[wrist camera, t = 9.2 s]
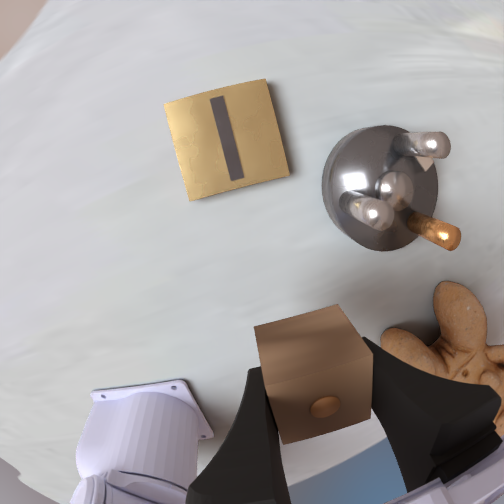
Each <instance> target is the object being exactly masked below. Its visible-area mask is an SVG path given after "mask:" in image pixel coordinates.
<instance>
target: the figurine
mask: <svg viewBox="0 0 504 504" xmlns="http://www.w3.org/2000/svg"><path fill="white" fill-rule="evenodd" d="M433 306H434V312H435V315H436V318H437V321H438V323H439V325H440V329H441V335H440V337H439V338H438V340H437V341H435V342H434V343H433V344H432V345H430V346H429V347H427V346H426V345H425V344H424V343H423V342H422V341H421V340H420V339H419V338H417V337H416V336H415V335H413V334H412V333H410V332H408V331H405V330H401V329H398V328H390V329H387V330H385V331H384V333H383V334H382V335H381V339H380V340H381V348H382V349H384V350H385V351H387V352H388V353H390V354H392V355H393V356H395V357H397V358H398V359H400V360H402V361H404V362H405V363H407V364H409V365H411V366H413V367H415V368H418V369H420V370H422V371H425V372H427V373H430V374H433V375H436V376H439V377H442V378H446V379H449V380H454V381H458V382H464V383H470V384H481V385H490V386H491V387H492V388H493V389H494V390H495V391H496V392H497V394H498V395H499V396H500V397H501V398H502V403H501V406H500V409H499V411H498V413H497V415H496V417H495V419H494V421H493V422H494V424H495V425H496V427H497V428H496V430H495V431H496V432H497V434H498V435H499V436H500V437H501V436H502V435H504V345H494V346H488V345H487V344H486V336H487V318H486V315H485V312H484V309H483V307H482V305H481V304H480V302H479V301H478V299H477V298H476V296H475V295H474V294H473V293H472V292H471V291H470V290H469V289H467V288H466V287H464V286H462V285H461V284H458V283H453V282H449V281H442V282H441V283H439V285H438V286H437V287H436V288H435V292H434V297H433Z"/></svg>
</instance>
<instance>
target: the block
mask: <svg viewBox="0 0 504 504" xmlns="http://www.w3.org/2000/svg"><path fill="white" fill-rule="evenodd" d="M254 330H255V336H256V341H257V347H258V352H259V358H260V363H261V369H262V374H263V379H264V385H265V389H266V392H267V395H268V398H269V402H270V405H271V408H272V411H273V415H274V418H275V421H276V424H277V427H278V431H279V434H280V437H281V440H282V443H283V445H285V444H289V443H293V442H297V441H301V440H305V439H309V438H312V437H316V436H319V435H323V434H326V433H330V432H333V431H336V430H339V429H342V428H345V427H348V426H351V425H354V424H357V423H360V422H362V421H365V420H368V419H371V403H372V381H373V354H372V352H371V351H370V349H369V348H368V346H367V345H366V343H365V342H364V341H363V339H362V338H361V336H360V335H359V333H358V332H357V331H356V329H355V328H354V326H353V325H352V324H351V322H350V321H349V319H348V318H347V316H346V315H345V314H344V312H343V311H342V310H341V308H340V307H339V305H338V304H336V305H333V306H329V307H326V308H322V309H319V310H315V311H312V312H308V313H305V314H301V315H297V316H293V317H290V318H286V319H282V320H278V321H274V322H270V323H266V324H262V325H258V326H254Z"/></svg>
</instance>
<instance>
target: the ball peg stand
mask: <svg viewBox="0 0 504 504" xmlns="http://www.w3.org/2000/svg"><path fill="white" fill-rule="evenodd" d="M450 149H451V144H450V140H449V138H448V136H447V135H446V134H445V133H443V132H416V133H410V132H408V131H406V130H404V129H402V128H399V127H395V126H386V125H383V126H375V127H368V128H362V129H358V130H355V131H353V132H351V133H349V134H348V135H346V136H345V137H343V138H342V139H341V140H340V141H339V142H338V143H337V144H336V145H335V147H334V148H333V149H332V151H331V153H330V154H329V156H328V159H327V161H326V163H325V167H324V170H323V176H322V195H323V200H324V204H325V207H326V210H327V212H328V214H329V216H330V218H331V220H332V221H333V223H334V224H335V225H336V226H337V227H338V228H339V229H340V230H341V231H342V232H343V233H344V234H346V235H347V236H349V237H350V238H351V239H353V240H354V241H356V242H357V243H359V244H360V245H362V246H364V247H366V248H368V249H371V250H375V251H392V250H396V249H399V248H402V247H404V246H406V245H408V244H409V243H411V242H412V241H413V240H415V239H416V238H417V237H418V236H421V237H423V238H425V239H427V240H429V241H431V242H433V243H435V244H437V245H439V246H441V247H443V248H445V249H447V250H449V251H452V250H455V249H456V248H457V247H458V245H459V243H460V240H461V232H460V230H459V228H458V227H455V226H453V225H450V224H448V223H445V222H443V221H440V220H438V219H435V218H433V217H432V215H433V212H434V209H435V206H436V202H437V195H438V179H437V173H436V168H435V165H434V161H433V160H432V158H441V159H444V158H446V157H447V156H448V155H449V153H450Z"/></svg>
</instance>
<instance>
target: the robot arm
mask: <svg viewBox="0 0 504 504" xmlns="http://www.w3.org/2000/svg"><path fill="white" fill-rule="evenodd" d="M361 338H362V339H363V341H364V342H365V343H366V345H367V346H368V348H369V349H370V351H371V352H372V354H373V381H372V403H371V408H372V409H373V411H374V413H375V414H376V416H377V418H378V419H379V421H380V423H381V425H382V427H383V428H384V430H385V433H386V435H387V437H388V440H389V442H390V444H391V447H392V449H393V452H394V454H395V457H396V459H397V462H398V465H399V468H400V471H401V473H402V476H403V480H404V483H405V486H406V489H407V494H405V495H402V496H400V497H398V498H396V499H393V500H391V501H389V502H386V503H384V504H491V503H493V502H494V501H495V500H497V499H498V498H499V497H500V496H502V495H503V494H504V435H502V436H501V437H500V436H499V435H498V434H497V432H496V431H495V430H496V428H497V427H496V425H495V424H494V422H493V421H494V419H495V417H496V415H497V413H498V411H499V409H500V406H501V403H502V398H501V397H500V396H499V395H498V394H497V392H496V391H495V390H494V389H493V388H492V387H491V386H490V385H481V384H470V383H464V382H458V381H454V380H449V379H446V378H442V377H439V376H436V375H433V374H430V373H427V372H425V371H422V370H420V369H418V368H415V367H413V366H411V365H409V364H407V363H405V362H404V361H402V360H400V359H398V358H397V357H395V356H393V355H392V354H390V353H388V352H387V351H385V350H384V349H382V348H381V347H379V346H378V345H376V344H375V343H373V342H372V341H370V340H369V339H367V338H366V337H361ZM173 386H176V387H173ZM90 396H91V398H92V399H93V401H94V404H93V406H92V409H91V411H90V414H89V416H88V419H87V421H86V424H85V426H84V429H83V432H82V434H81V437H80V439H79V442H78V445H77V449H76V464H77V469H78V472H79V474H80V476H81V478H82V480H81V481H80V482H79V484H78V486H77V487H76V489H75V491H74V493H73V496H72V498H71V500H70V503H69V504H291V501H290V496H289V492H288V488H287V483H286V479H285V474H284V470H283V465H282V460H281V453H280V444H279V434H278V427H277V424H276V421H275V418H274V415H273V411H272V408H271V405H270V402H269V398H268V395H267V392H266V389H265V385H264V379H263V374H262V369H261V366H260V367H256V368H252V369H249V370H248V375H247V382H246V386H245V391H244V394H243V398H242V401H241V404H240V407H239V410H238V413H237V415H236V418H235V420H234V423H233V425H232V427H231V429H230V431H229V433H228V435H227V437H226V439H225V440H224V442H223V444H222V445H221V447H220V449H219V450H218V452H217V453H216V455H215V456H214V457H213V459H212V460H211V461H210V463H209V464H208V465H207V466H206V468H205V469H204V470H203V471H202V472H201V473H200V475H199V476H198V477H197V456H198V440H203V439H210V438H213V437H214V432H213V431H212V429H211V427H210V426H209V424H208V422H207V420H206V419H205V417H204V415H203V413H202V412H201V410H200V408H199V406H198V405H197V403H196V401H195V399H194V397H193V395H192V394H191V392H190V390H189V388H188V386H187V384H186V383H185V382H184V381H183V380H175V381H169V382H163V383H156V384H149V385H142V386H134V387H126V388H118V389H108V390H98V391H92V392H91V394H90Z"/></svg>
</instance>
